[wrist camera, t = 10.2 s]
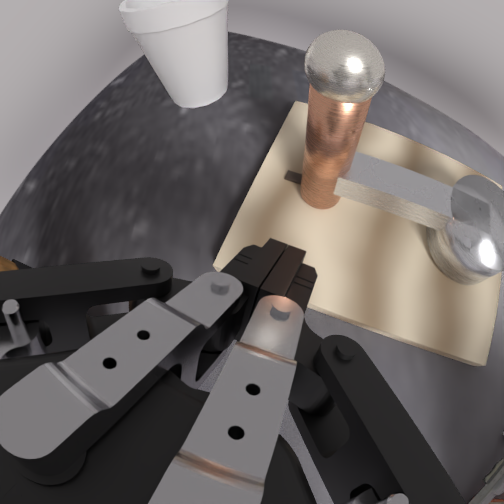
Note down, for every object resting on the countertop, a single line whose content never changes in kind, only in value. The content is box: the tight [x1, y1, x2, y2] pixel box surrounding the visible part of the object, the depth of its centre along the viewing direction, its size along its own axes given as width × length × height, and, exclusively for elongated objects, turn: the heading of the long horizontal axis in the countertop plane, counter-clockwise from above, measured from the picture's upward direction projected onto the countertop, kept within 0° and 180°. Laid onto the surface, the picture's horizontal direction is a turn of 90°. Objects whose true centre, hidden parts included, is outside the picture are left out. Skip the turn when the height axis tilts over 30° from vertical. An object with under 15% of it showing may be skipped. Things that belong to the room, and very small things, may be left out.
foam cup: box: [119, 0, 229, 108], centre depth 23 cm, size 10×9×13 cm
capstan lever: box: [300, 30, 504, 285], centre depth 14 cm, size 17×7×13 cm, turn 70°
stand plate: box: [213, 101, 502, 366], centre depth 21 cm, size 22×17×2 cm
